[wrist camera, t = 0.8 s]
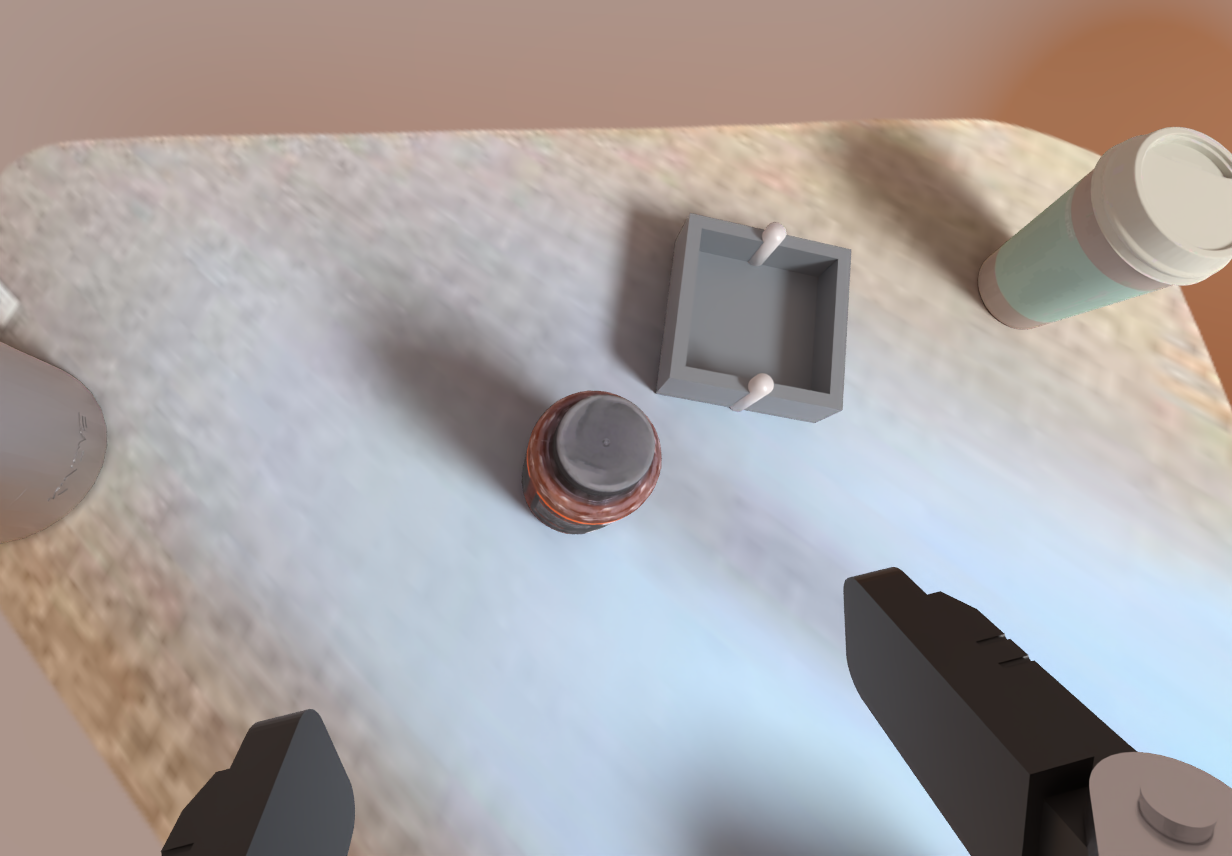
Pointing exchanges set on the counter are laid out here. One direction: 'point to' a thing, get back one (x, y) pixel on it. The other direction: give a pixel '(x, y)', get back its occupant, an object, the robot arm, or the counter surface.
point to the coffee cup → (1119, 232)
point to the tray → (756, 320)
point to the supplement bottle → (590, 462)
